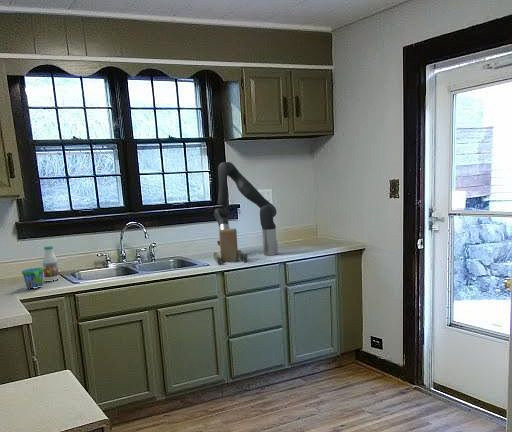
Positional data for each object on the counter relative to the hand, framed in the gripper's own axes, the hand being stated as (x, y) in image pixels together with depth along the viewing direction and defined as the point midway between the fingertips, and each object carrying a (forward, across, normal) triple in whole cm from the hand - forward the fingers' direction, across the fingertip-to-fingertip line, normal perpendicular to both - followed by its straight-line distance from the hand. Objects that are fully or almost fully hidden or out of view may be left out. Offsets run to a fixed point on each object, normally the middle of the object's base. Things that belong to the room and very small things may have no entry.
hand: (228, 252), depth 303 cm
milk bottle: (+14, -105, -8) cm, 107 cm away
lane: (+7, 0, -1) cm, 7 cm away
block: (+7, 0, -1) cm, 7 cm away
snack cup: (+26, -110, -20) cm, 115 cm away
